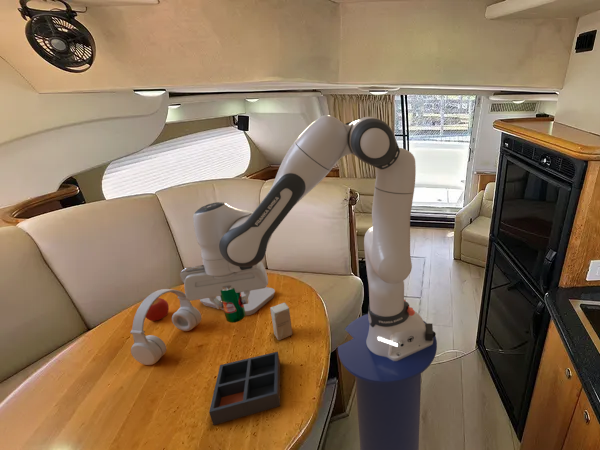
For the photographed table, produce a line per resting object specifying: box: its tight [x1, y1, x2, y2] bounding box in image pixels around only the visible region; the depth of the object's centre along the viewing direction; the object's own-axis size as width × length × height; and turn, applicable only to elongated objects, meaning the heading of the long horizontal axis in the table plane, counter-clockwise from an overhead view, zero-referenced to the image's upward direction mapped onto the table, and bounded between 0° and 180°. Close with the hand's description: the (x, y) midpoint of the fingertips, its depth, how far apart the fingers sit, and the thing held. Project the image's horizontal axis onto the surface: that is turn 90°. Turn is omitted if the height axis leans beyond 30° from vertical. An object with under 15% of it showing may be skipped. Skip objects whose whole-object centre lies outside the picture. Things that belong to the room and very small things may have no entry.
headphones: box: [130, 288, 202, 366], centre depth 100 cm, size 20×8×19 cm, turn 173°
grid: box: [208, 351, 281, 426], centre depth 86 cm, size 16×16×5 cm
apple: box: [145, 297, 170, 322], centre depth 115 cm, size 8×8×8 cm
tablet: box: [199, 286, 276, 316], centre depth 127 cm, size 16×26×2 cm, turn 72°
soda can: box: [220, 285, 247, 324], centre depth 88 cm, size 5×5×12 cm
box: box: [269, 302, 293, 341], centre depth 106 cm, size 5×4×11 cm
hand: (233, 305), depth 89 cm, fingers closed on soda can, 5 cm apart
